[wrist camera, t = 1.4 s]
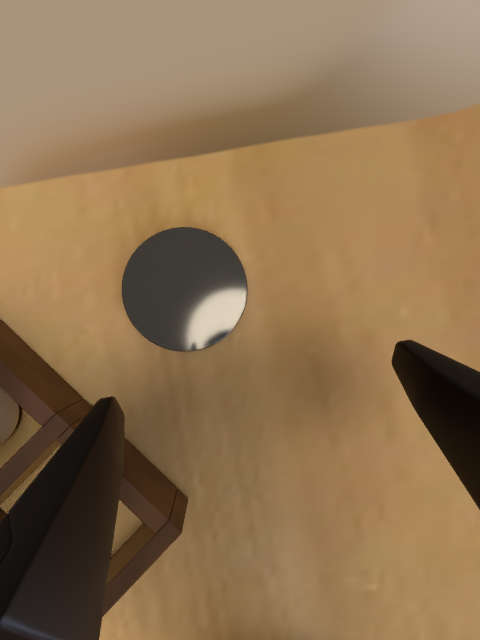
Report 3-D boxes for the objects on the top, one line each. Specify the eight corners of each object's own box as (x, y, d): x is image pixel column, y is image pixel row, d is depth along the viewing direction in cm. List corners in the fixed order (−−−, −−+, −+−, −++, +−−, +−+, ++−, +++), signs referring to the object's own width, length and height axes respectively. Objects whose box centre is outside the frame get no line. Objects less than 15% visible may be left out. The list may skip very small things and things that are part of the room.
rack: (188, 498, 24) (182, 533, 20) (83, 608, 23) (55, 667, 19) (-13, 306, 23) (-62, 302, 19) (-127, 414, 23) (-201, 433, 19)
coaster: (263, 327, 24) (264, 327, 24) (146, 367, 24) (145, 368, 23) (224, 213, 24) (224, 211, 24) (106, 250, 24) (104, 249, 23)
